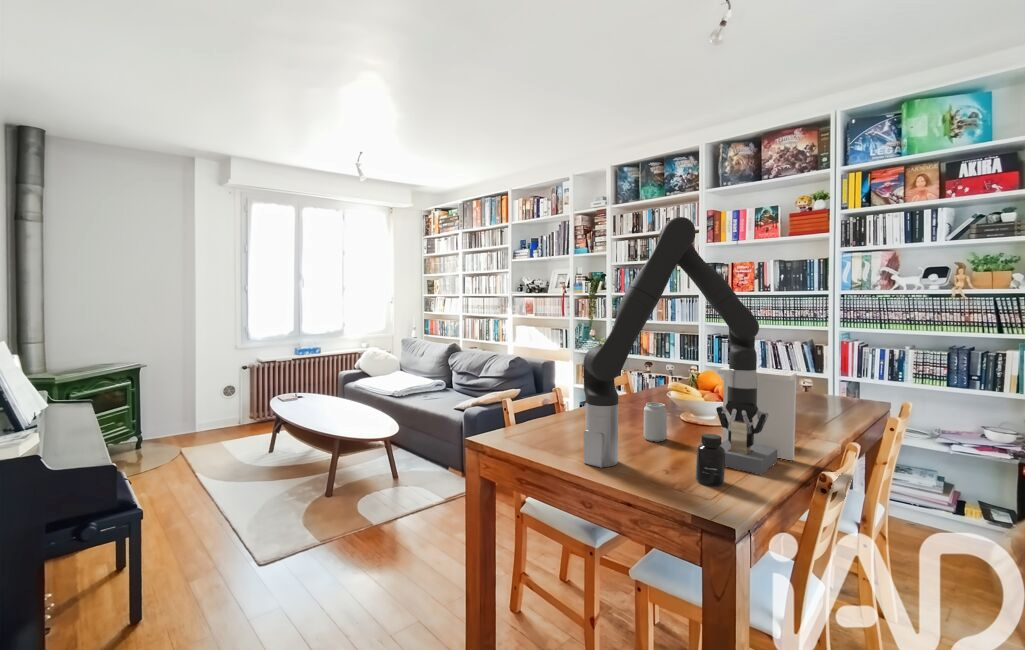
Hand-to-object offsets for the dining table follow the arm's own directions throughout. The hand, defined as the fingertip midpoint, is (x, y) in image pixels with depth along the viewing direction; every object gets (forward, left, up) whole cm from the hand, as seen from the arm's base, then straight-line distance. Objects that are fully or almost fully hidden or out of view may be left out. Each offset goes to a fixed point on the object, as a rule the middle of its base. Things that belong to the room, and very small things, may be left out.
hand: (740, 444), depth 141 cm
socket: (+2, 0, -6) cm, 6 cm away
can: (+7, +30, -6) cm, 31 cm away
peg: (0, 0, -3) cm, 3 cm away
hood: (+11, 0, -6) cm, 13 cm away
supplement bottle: (-19, +1, -6) cm, 20 cm away
